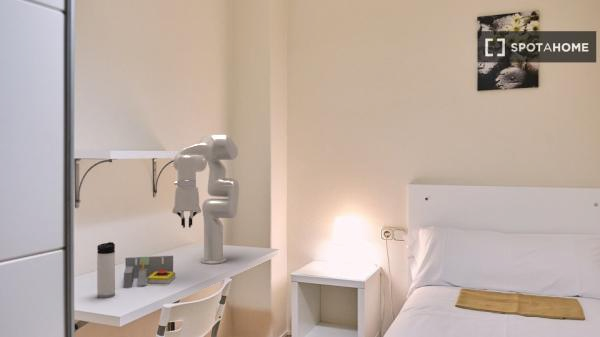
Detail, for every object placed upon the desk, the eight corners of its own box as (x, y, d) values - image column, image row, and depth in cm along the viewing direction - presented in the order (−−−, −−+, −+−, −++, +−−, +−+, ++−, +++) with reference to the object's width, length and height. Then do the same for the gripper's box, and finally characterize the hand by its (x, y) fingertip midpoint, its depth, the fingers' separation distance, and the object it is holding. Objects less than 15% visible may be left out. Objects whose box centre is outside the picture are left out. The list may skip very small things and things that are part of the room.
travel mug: (118, 293, 191) (118, 242, 190) (108, 298, 185) (108, 245, 184) (104, 292, 192) (104, 241, 192) (93, 297, 186) (93, 244, 185)
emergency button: (177, 268, 218) (167, 276, 203) (177, 277, 218) (166, 287, 203) (156, 267, 218) (144, 276, 203) (156, 277, 218) (144, 286, 203)
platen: (139, 278, 212) (139, 261, 212) (147, 278, 213) (147, 261, 213) (138, 285, 201) (138, 267, 201) (146, 285, 202) (146, 266, 202)
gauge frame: (125, 278, 214) (125, 257, 214) (173, 275, 220) (173, 255, 219) (122, 287, 199) (122, 265, 199) (173, 284, 205) (173, 263, 204)
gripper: (167, 185, 204) (167, 229, 205) (206, 184, 208) (206, 228, 209) (167, 183, 212) (167, 226, 212) (205, 183, 216) (204, 225, 216)
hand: (186, 226), depth 211 cm, fingers closed
